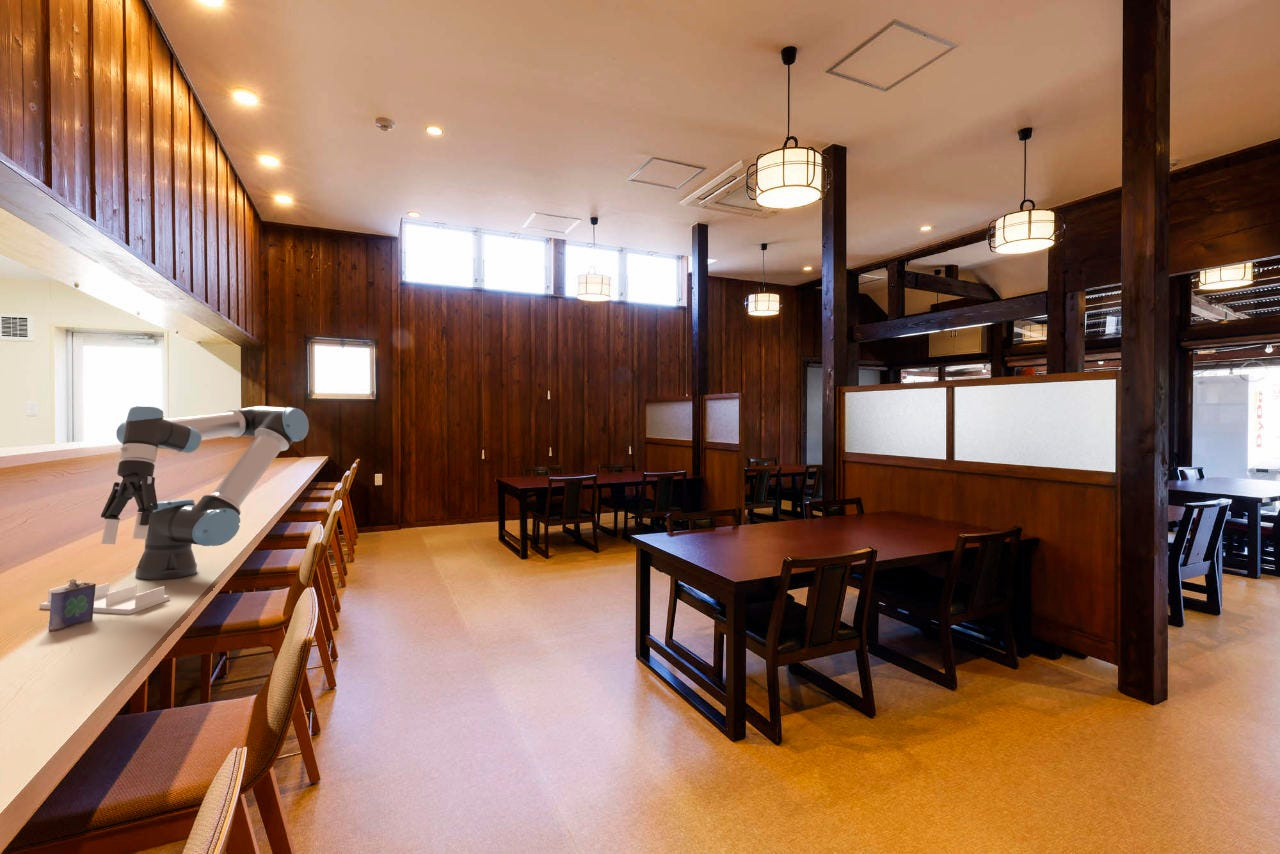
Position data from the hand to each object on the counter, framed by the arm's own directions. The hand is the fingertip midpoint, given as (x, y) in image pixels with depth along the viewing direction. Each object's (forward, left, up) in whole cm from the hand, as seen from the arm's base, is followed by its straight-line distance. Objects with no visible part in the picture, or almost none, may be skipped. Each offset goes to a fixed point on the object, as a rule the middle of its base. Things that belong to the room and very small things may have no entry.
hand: (123, 541), depth 158 cm
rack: (-1, -4, -17) cm, 17 cm away
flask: (+15, +2, -17) cm, 23 cm away
